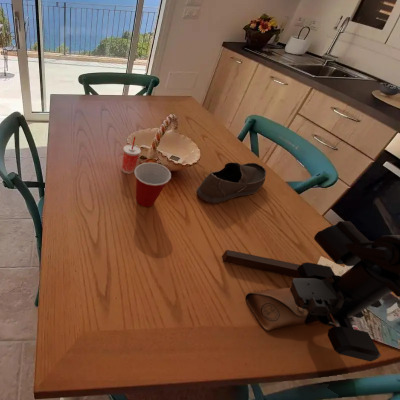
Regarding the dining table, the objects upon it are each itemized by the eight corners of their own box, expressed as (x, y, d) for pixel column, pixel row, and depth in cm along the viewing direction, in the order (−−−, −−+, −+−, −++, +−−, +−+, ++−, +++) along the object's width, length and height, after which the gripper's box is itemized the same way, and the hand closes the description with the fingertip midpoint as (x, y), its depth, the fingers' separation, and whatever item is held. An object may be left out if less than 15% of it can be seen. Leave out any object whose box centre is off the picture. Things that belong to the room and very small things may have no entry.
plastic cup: (122, 193, 90) (128, 164, 82) (150, 188, 93) (158, 159, 85) (137, 216, 83) (146, 186, 75) (167, 209, 86) (178, 179, 78)
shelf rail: (328, 284, 68) (337, 278, 66) (222, 262, 72) (227, 255, 70) (325, 278, 70) (333, 271, 68) (221, 256, 73) (226, 249, 71)
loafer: (269, 186, 98) (286, 162, 91) (216, 213, 86) (230, 188, 78) (243, 170, 104) (256, 147, 97) (190, 193, 92) (201, 168, 85)
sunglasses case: (267, 333, 58) (271, 305, 56) (243, 313, 65) (245, 288, 63) (337, 322, 61) (342, 295, 59) (306, 304, 67) (310, 279, 66)
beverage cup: (120, 164, 103) (126, 131, 94) (136, 166, 102) (144, 133, 93) (118, 173, 99) (125, 139, 89) (135, 176, 98) (143, 142, 88)
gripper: (293, 238, 56) (257, 279, 67) (337, 325, 42) (282, 360, 53) (352, 249, 55) (305, 289, 65) (416, 344, 41) (344, 375, 51)
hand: (307, 324), depth 59 cm, fingers closed
